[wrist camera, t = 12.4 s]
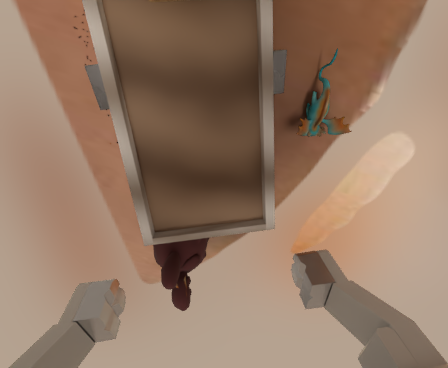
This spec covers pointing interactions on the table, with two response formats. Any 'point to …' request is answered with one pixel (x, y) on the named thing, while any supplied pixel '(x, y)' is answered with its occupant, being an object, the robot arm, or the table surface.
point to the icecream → (179, 267)
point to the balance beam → (191, 111)
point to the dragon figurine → (321, 113)
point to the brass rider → (162, 0)
